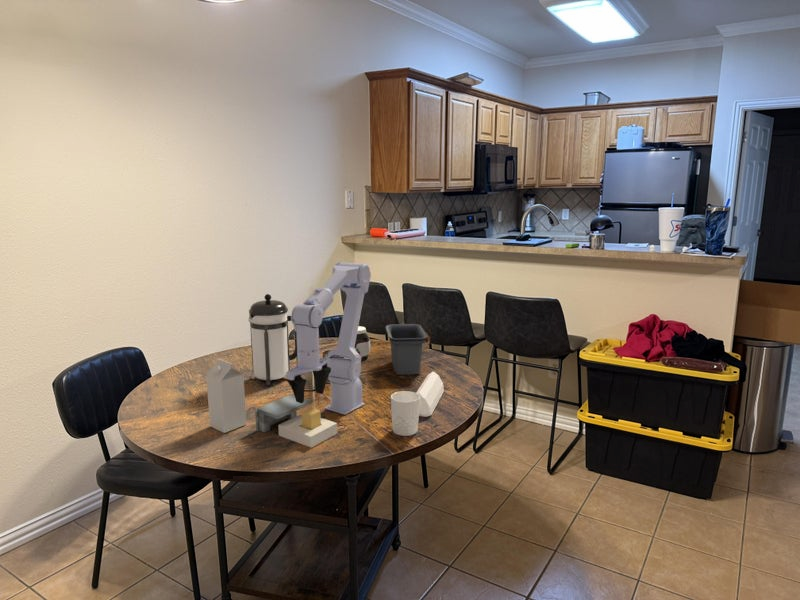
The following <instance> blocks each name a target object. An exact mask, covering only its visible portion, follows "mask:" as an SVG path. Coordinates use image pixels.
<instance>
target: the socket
mask: <svg viewBox="0 0 800 600" xmlns="http://www.w3.org/2000/svg"><path fill="white" fill-rule="evenodd" d="M337 434H338V422H335V421H332V420H330V419H329V420H328V419H326V418H322V417H321V425H320V426H318V427H316V428H314V429H312V430H308V429H306V428H303V427H302V413H300V414H298V415H297V417H295V418H292V419H288V420H286V421H284V422H282V423H280V424H278V436H279V437H282V438H284V439H288V440H290V441H292V442H295V443H298V444H301V445H303V446H305V447H308V448H314V447H316V446H317V445H319V444H321V443H323V442H325V441H326V440H328V439H330V438H331V437H333V436H335V435H337Z"/></svg>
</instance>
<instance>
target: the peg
mask: <svg viewBox="0 0 800 600" xmlns="http://www.w3.org/2000/svg"><path fill="white" fill-rule="evenodd" d="M321 412H322V411H321V410H319V409H317V408H313V407H309V408H307V409H305V410H303V411H301V414H302V427H303V428H306V429H308V430H312V429H314V428H316V427H318V426H320V425H321V418H322V416H321Z"/></svg>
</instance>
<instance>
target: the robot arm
mask: <svg viewBox="0 0 800 600" xmlns="http://www.w3.org/2000/svg"><path fill="white" fill-rule="evenodd" d="M332 267H333V268H332V271H331V272H332V275H331V276H330V277H329V279H328V280H327V281H326V282H325V283H324V285H323V287H321V286H320V287H316V288H315V289H314V291H312V293H311V294H310V295H309V297H307V299H306V300H305V301H304V302H303V303H299V304H297V305H295V306H294V307H293V309H292V311H291V315H290V316H291V321H290V322H291V323H292V324H293V329H294V333H295V332H296V333H297V364H296V365H295V366H293V368H290V370H289V371H287V372H286V376H285V379H286V382H287V383H288V385H289V386H290V388H291V390H292V394H294V395H295V399H296V402H299V403H303V402H304V398H305V386H306V384H307V379H305V378H303V377H302V376H303V375H305V374H308V373H311V372H312V375H313V379H314V387H315V392H316V393H317V394H320V395H323V394H324V391H325V389H326V388H325V386H326V382H327V380H328V381H330V399H331V400H330V404H329V405H326V406H325V410H328V411H331V412H334V413H338V414H340V415H347V414H349V413H352V412H353V411H355V410H357V409H359V408H361V407H363V406H365V402H363V383H362V380H361V379H360V376H361V373H362V359H361V356H360V355H359V354H358V353H357V352H356V350H355V349H354V347H355V342H356V336H357V331H358V326H360V319H361V315H362V314H361V313H362V308H363V302H364V298H365V294H366V293H368V292H369V287H370V281H371V277H372V275H371V274H372V273H371V270H370V267H369V265H368V264H367V263H366V262H363V263H360V262H359V263H357V262H346V261H345V262H344V261H337V262H336V263H335V264H334V266H332ZM339 290H341V291H342V292H343V293H344V292H345V295H346V298H345V303H344V308H343V314H342V318H341V325H340V328H339V329H340V330H339V334H338V335H339V336H338V340H337V346H336V347H334V348H332V349H331V350H329V352H328V354H327V357H321V358H320V339H319V338H320V335H319V327H320V326H321V324H322V321H323V318H324V316H325V312H326V310H328V308H329V307H330V306H331V304H333V302H334V295H335V294H337V293H338V291H339ZM340 357H347V358H351V359H345V358H340Z"/></svg>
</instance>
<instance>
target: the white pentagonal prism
mask: <svg viewBox="0 0 800 600" xmlns="http://www.w3.org/2000/svg"><path fill="white" fill-rule="evenodd" d="M444 387H445V386H444V383H443V381H442V379H441V377H440V375H439V374H437V373H436V372H435V371H431V372H430V373H428V374H427V376H426V377H425V379H424V380H423V381H422V383H421V385H420V386H419V388H418V389H417V391H416V392H415V393H417V394H419V395H420V405H419V417H425V418H427V417H430V416H432V415H433V412H435V409H436V407H437V405H438V403H439V401H440V400H441V398H442V396H443V395H444V394H443V393H444V392H445V389H444Z"/></svg>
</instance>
